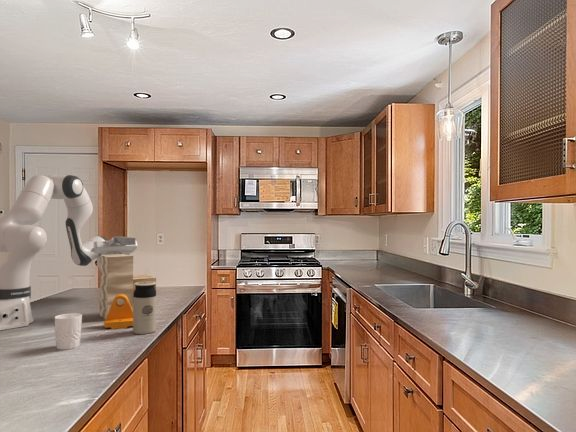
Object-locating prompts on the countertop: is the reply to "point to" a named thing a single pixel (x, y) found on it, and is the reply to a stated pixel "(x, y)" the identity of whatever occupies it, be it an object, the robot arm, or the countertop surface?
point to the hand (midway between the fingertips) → (119, 238)
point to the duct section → (124, 240)
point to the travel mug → (144, 308)
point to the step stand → (118, 280)
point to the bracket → (119, 314)
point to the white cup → (68, 330)
